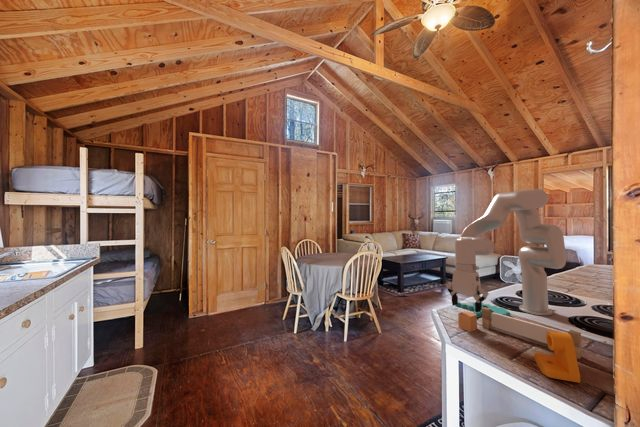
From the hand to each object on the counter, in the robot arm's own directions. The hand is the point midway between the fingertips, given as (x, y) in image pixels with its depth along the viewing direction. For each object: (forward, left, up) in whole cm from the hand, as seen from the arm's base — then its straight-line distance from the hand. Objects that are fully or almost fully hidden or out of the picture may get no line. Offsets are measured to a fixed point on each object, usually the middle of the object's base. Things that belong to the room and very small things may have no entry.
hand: (466, 308), depth 109 cm
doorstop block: (-1, 0, -9) cm, 9 cm away
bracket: (+8, +31, -9) cm, 33 cm away
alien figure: (-24, -5, -9) cm, 26 cm away
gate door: (-7, +18, -7) cm, 21 cm away
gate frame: (-8, +18, -9) cm, 21 cm away
